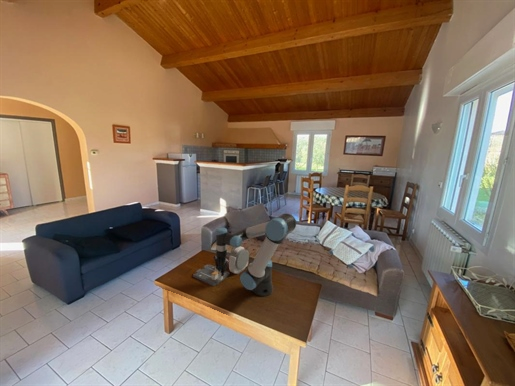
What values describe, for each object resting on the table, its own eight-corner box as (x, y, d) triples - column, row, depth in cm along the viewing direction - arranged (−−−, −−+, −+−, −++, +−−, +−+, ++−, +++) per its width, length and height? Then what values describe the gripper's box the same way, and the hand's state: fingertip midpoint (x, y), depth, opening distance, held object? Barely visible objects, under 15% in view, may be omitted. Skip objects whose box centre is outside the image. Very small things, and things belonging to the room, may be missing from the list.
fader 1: (221, 271, 171) (221, 266, 170) (217, 273, 168) (217, 268, 167) (218, 270, 173) (218, 264, 172) (214, 272, 170) (214, 267, 169)
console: (229, 274, 171) (229, 270, 171) (214, 286, 156) (214, 282, 156) (209, 266, 182) (209, 262, 181) (193, 276, 167) (193, 272, 166)
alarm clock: (241, 264, 187) (242, 242, 183) (249, 267, 183) (250, 245, 178) (227, 273, 173) (227, 250, 169) (235, 277, 168) (236, 253, 164)
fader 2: (218, 277, 163) (218, 272, 162) (214, 280, 159) (214, 274, 158) (215, 276, 164) (215, 271, 163) (211, 279, 161) (211, 273, 160)
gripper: (232, 249, 154) (231, 279, 158) (218, 245, 160) (217, 273, 165) (225, 254, 147) (224, 285, 152) (210, 248, 154) (210, 278, 159)
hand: (221, 279), depth 159 cm, fingers closed
